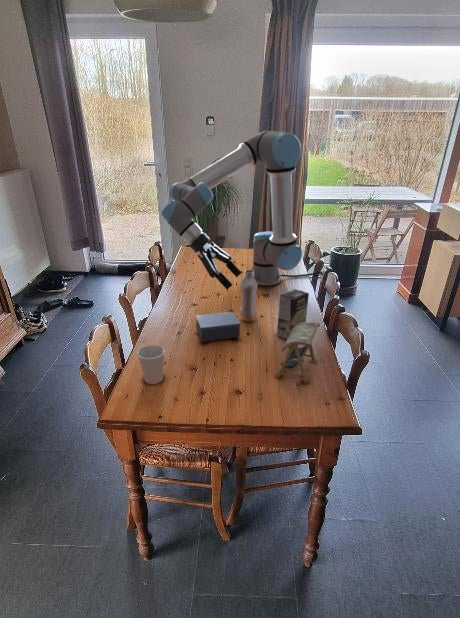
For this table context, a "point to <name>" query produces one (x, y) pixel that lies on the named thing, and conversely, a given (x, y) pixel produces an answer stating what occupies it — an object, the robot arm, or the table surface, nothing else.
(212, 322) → the grey rectangular box
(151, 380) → the dixie cup
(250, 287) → the plastic bottle
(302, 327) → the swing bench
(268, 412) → the table surface
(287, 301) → the coffee box
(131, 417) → the table surface
